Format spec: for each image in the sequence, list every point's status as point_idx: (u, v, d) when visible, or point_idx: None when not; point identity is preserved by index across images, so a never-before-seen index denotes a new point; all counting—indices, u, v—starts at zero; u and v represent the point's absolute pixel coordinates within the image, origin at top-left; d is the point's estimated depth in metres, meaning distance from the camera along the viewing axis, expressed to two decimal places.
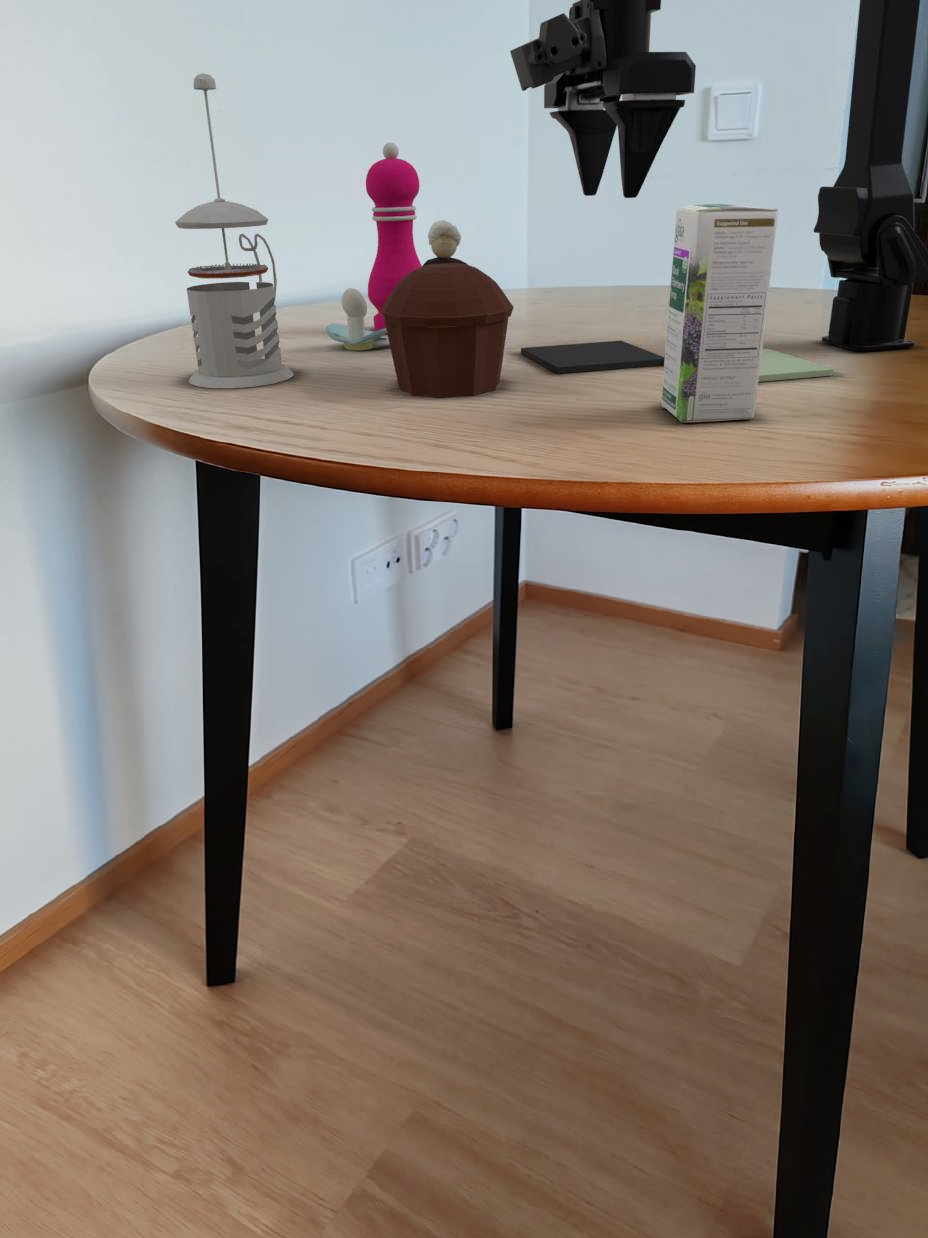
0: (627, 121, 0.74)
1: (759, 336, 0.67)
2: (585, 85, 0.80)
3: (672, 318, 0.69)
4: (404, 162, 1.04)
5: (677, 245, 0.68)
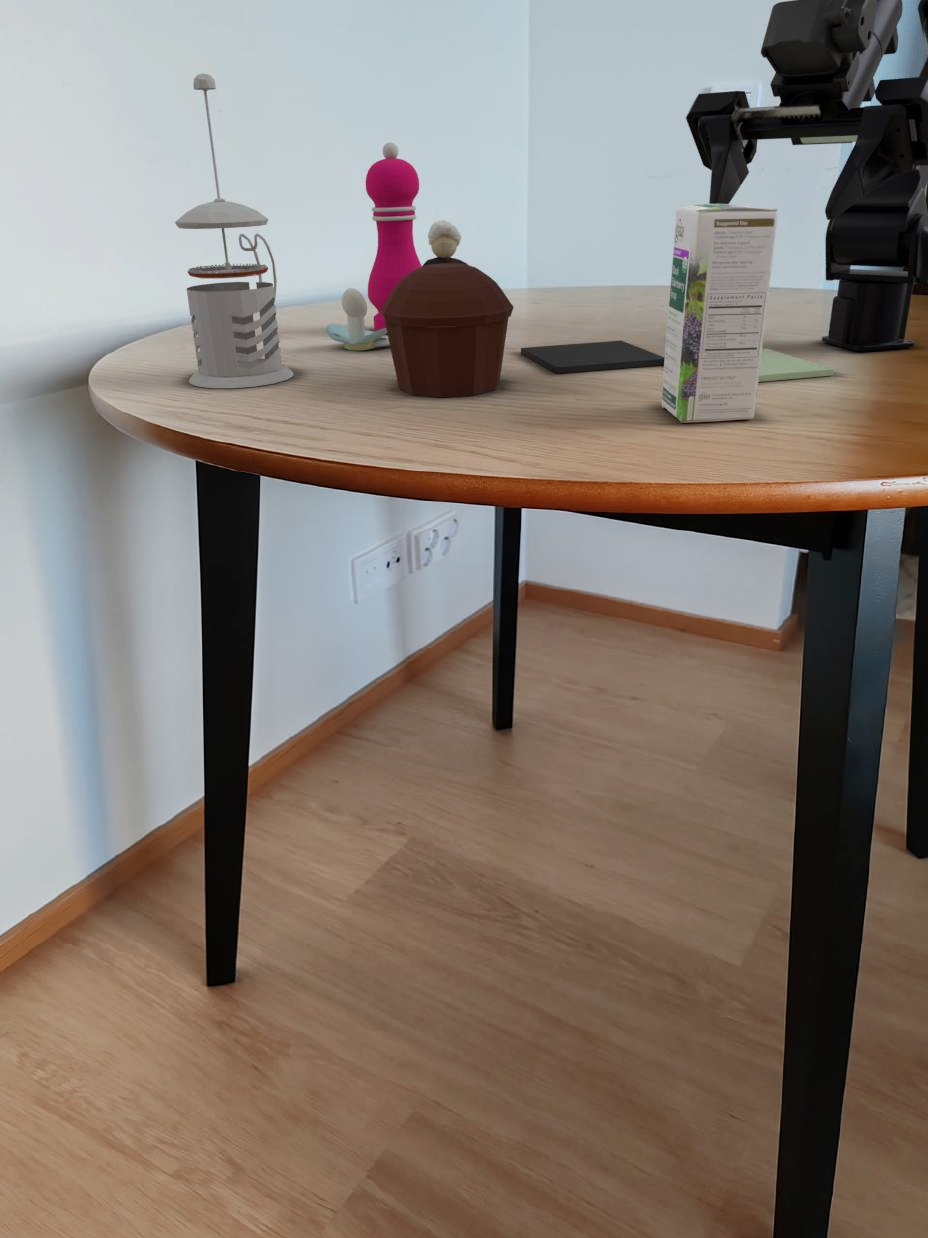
0: (881, 138, 0.67)
1: (759, 336, 0.67)
2: (783, 106, 0.73)
3: (672, 318, 0.69)
4: (404, 162, 1.04)
5: (677, 245, 0.68)
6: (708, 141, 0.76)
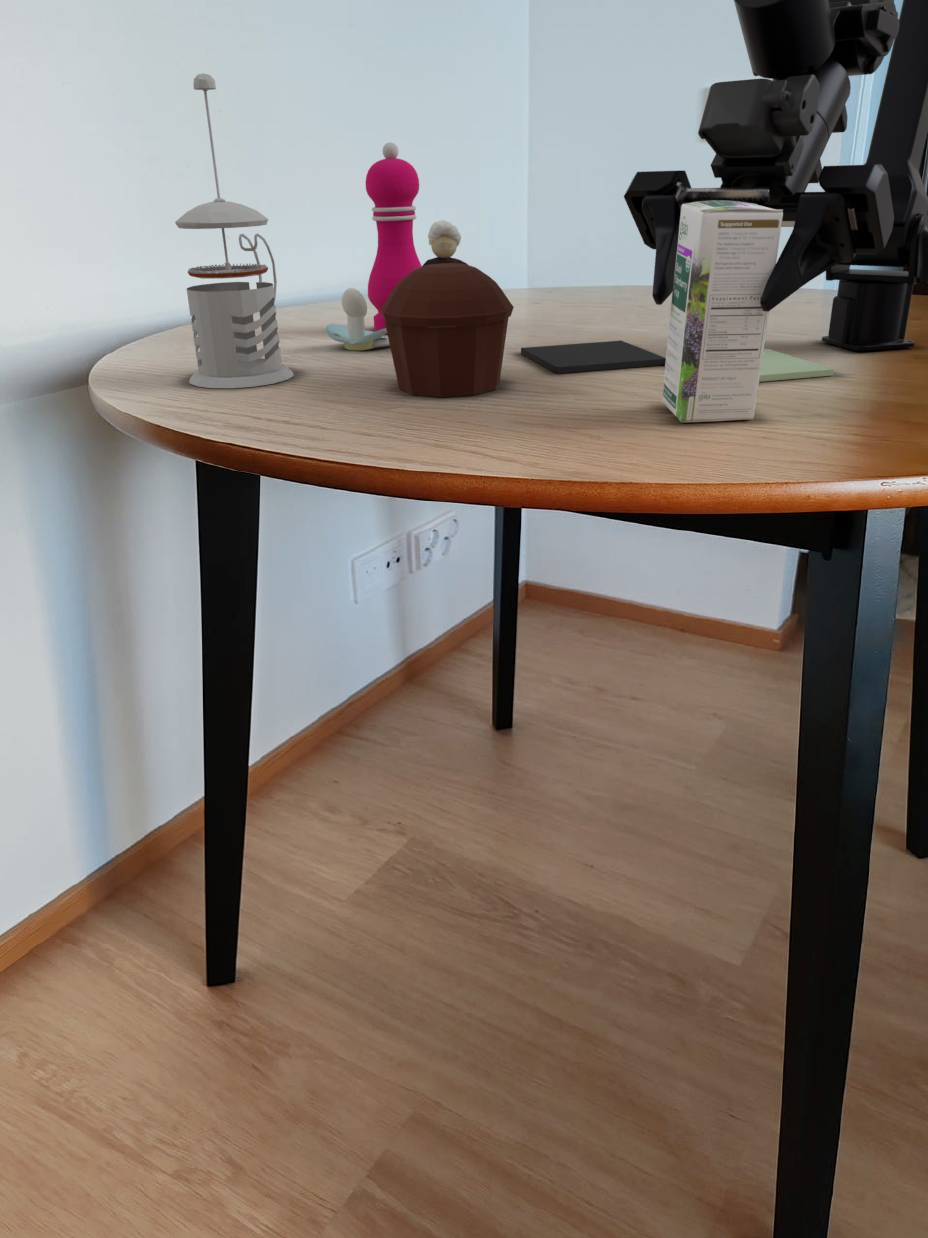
0: (818, 227, 0.63)
1: (761, 337, 0.66)
2: (730, 188, 0.68)
3: (674, 316, 0.69)
4: (404, 162, 1.04)
5: (681, 242, 0.67)
6: (653, 221, 0.72)
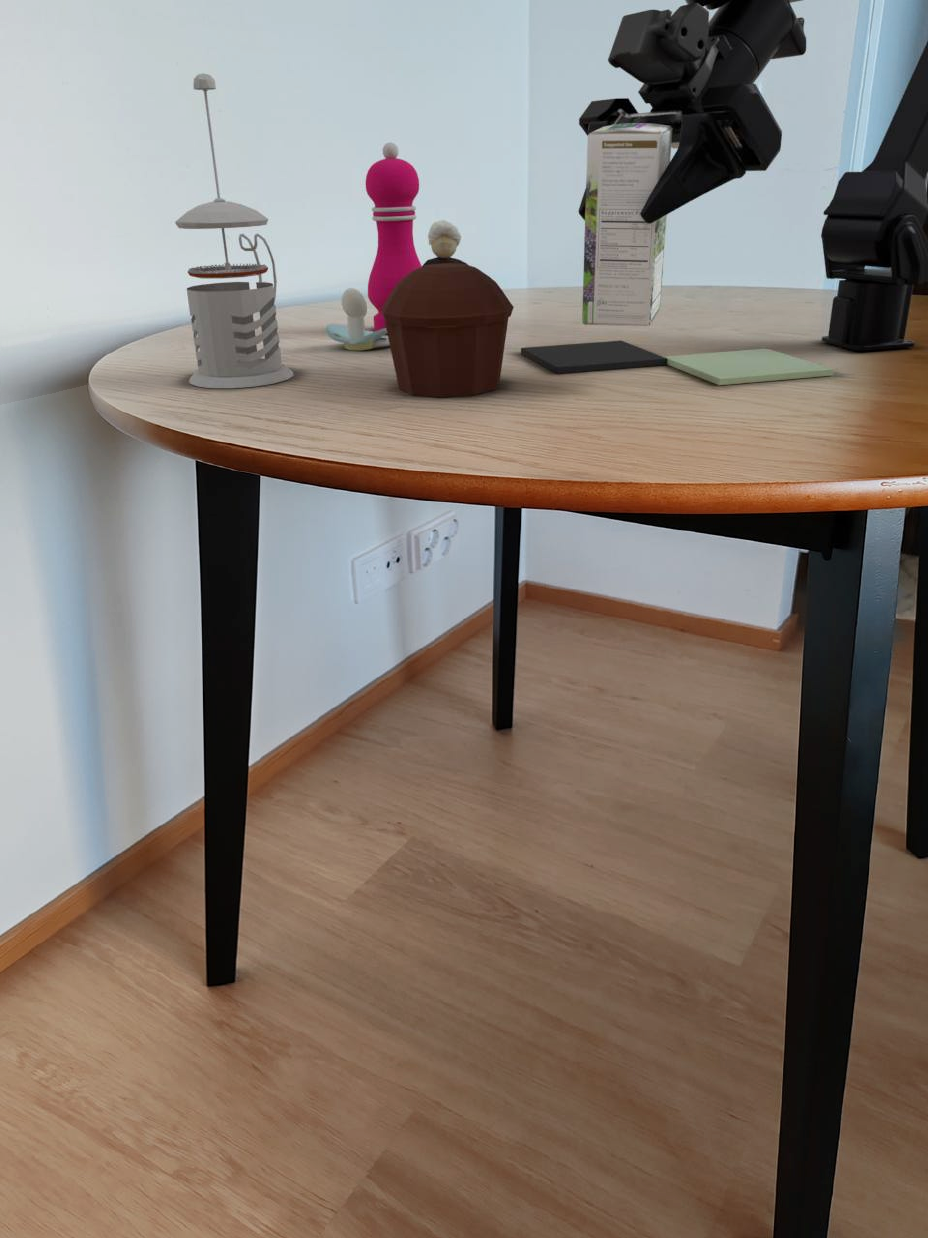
0: (696, 145, 0.70)
1: (649, 249, 0.74)
2: (654, 113, 0.75)
3: None
4: (404, 162, 1.04)
5: None
6: None
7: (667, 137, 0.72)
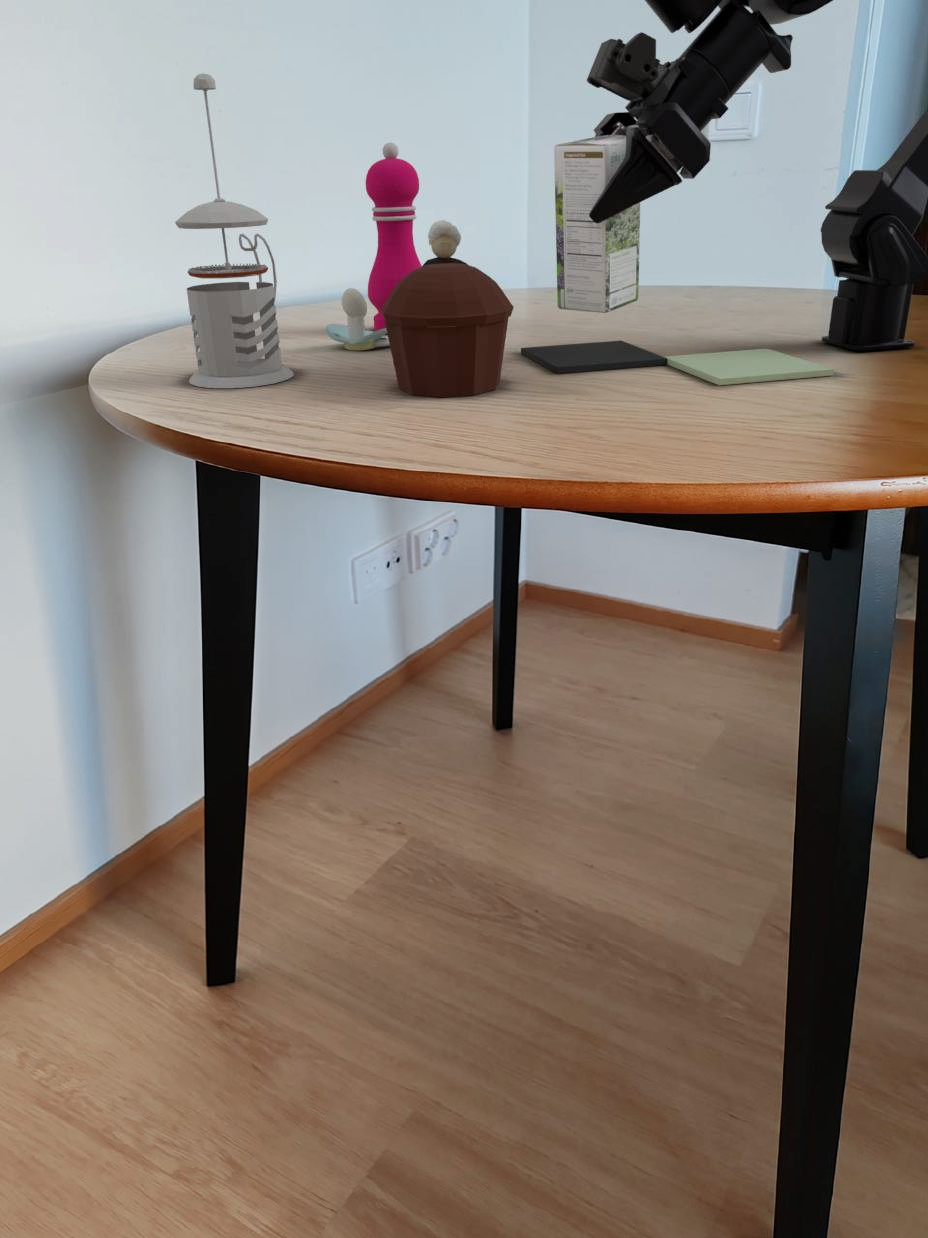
0: (633, 156, 0.80)
1: (602, 245, 0.85)
2: (633, 126, 0.85)
3: None
4: (404, 162, 1.04)
5: None
6: None
7: (623, 148, 0.83)
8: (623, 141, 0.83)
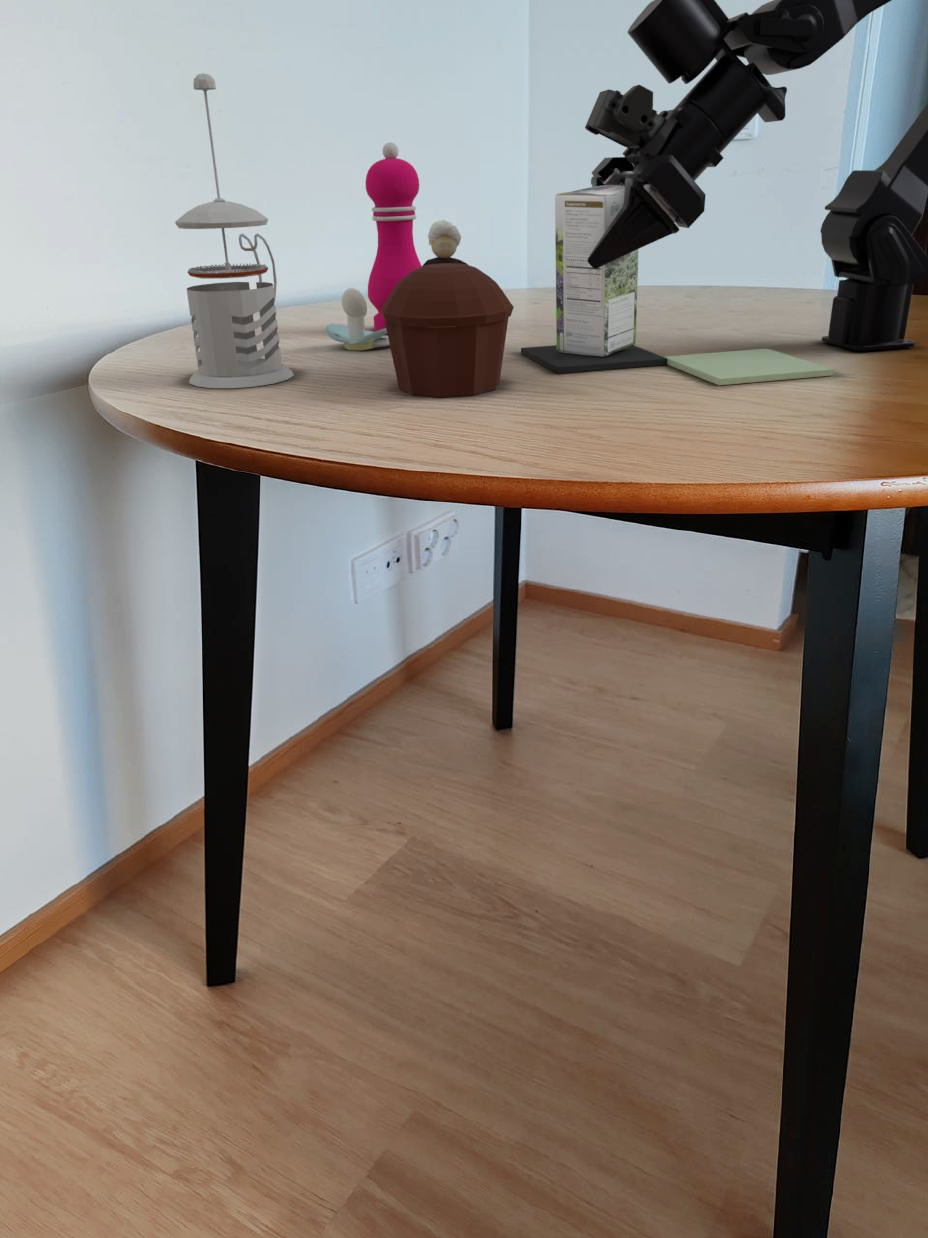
0: (631, 204, 0.81)
1: (601, 292, 0.87)
2: (628, 172, 0.88)
3: None
4: (404, 162, 1.04)
5: None
6: None
7: (623, 198, 0.85)
8: (622, 191, 0.85)
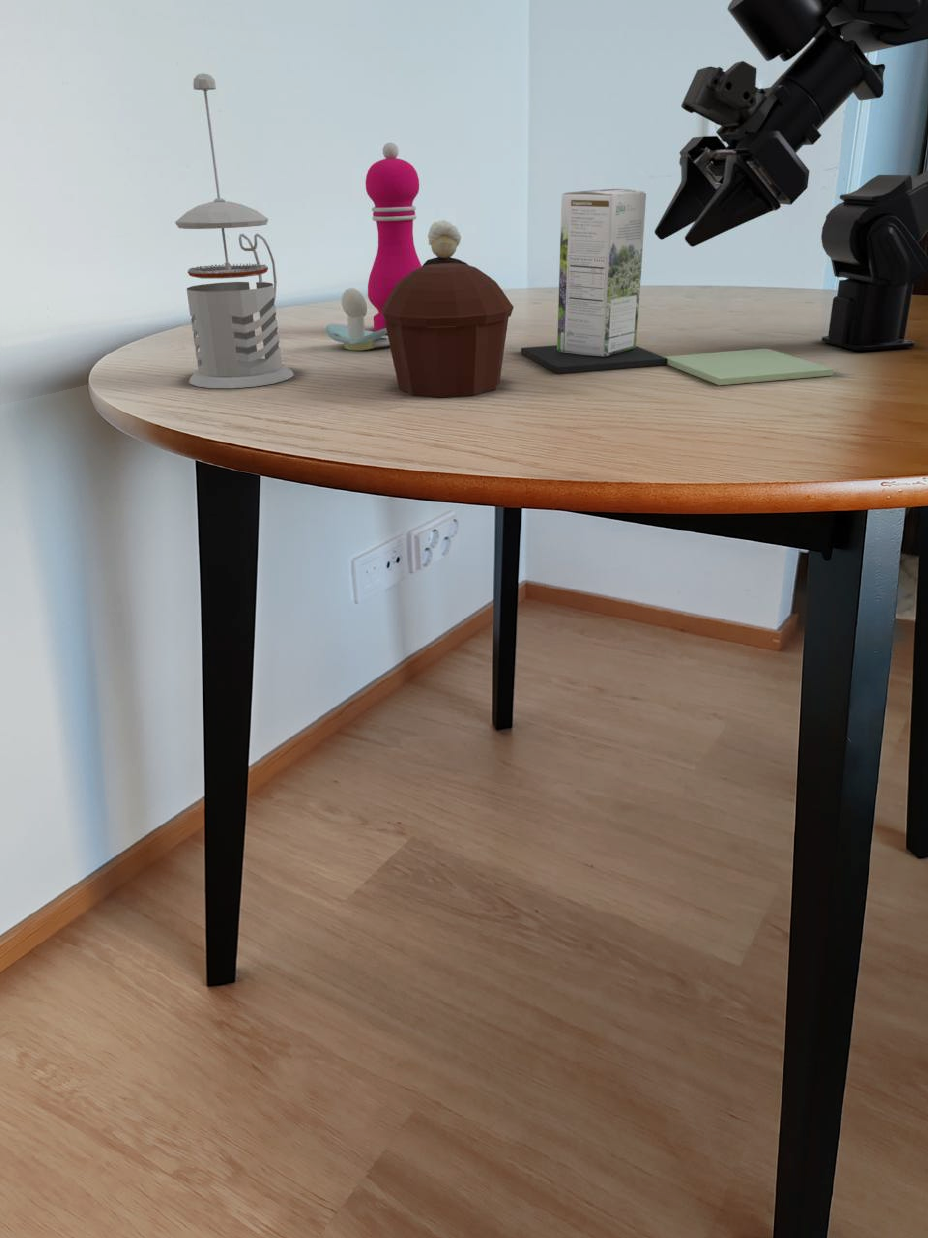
0: (733, 181, 0.81)
1: (604, 291, 0.87)
2: (722, 150, 0.88)
3: None
4: (404, 162, 1.04)
5: None
6: None
7: (629, 200, 0.85)
8: (629, 193, 0.86)
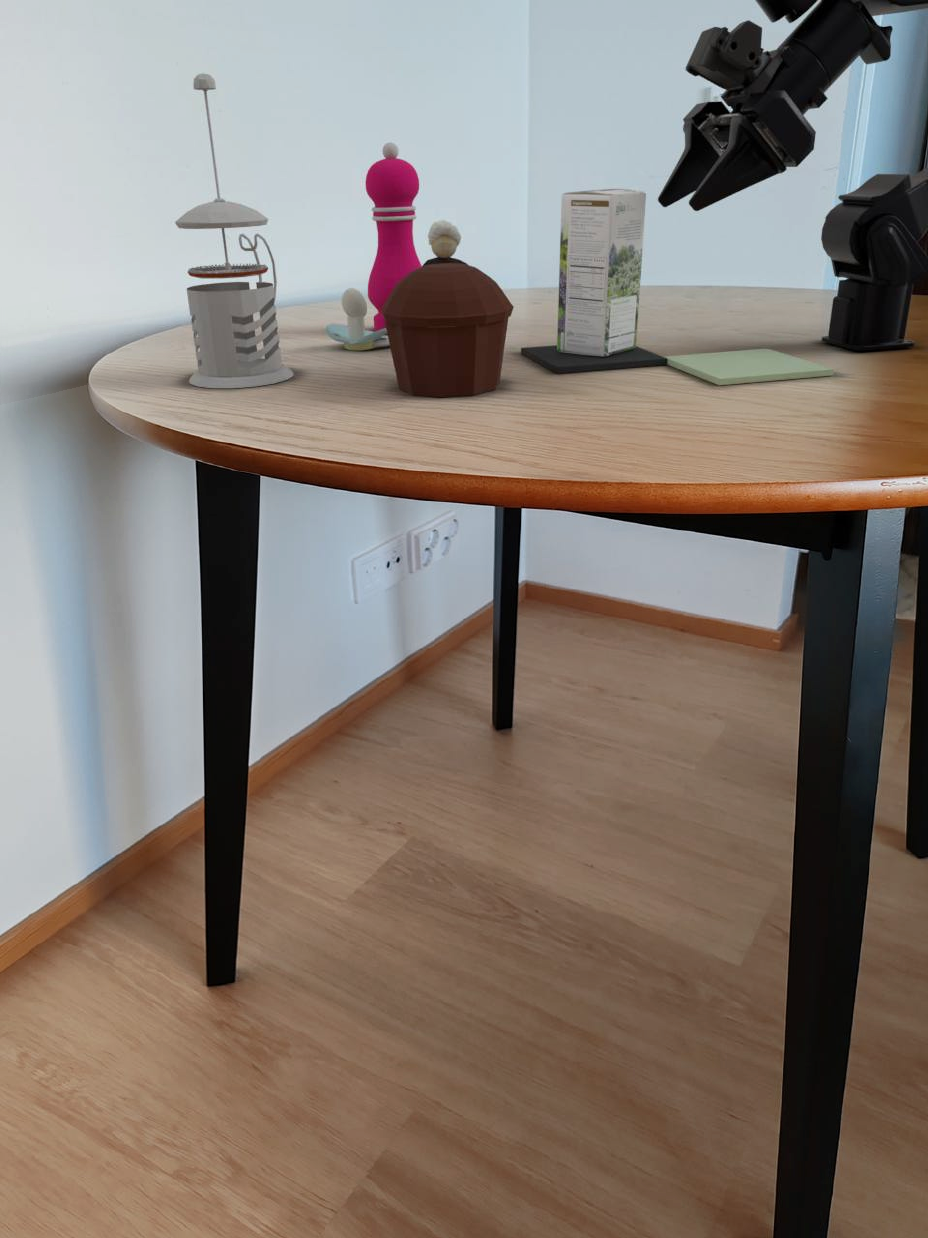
0: (738, 143, 0.80)
1: (604, 291, 0.87)
2: (726, 115, 0.86)
3: None
4: (404, 162, 1.04)
5: None
6: None
7: (629, 200, 0.85)
8: (628, 193, 0.86)
